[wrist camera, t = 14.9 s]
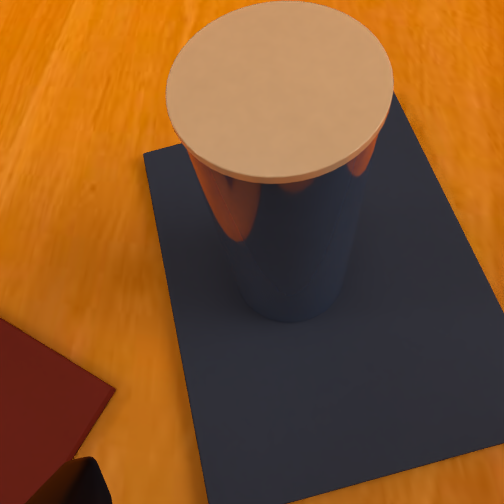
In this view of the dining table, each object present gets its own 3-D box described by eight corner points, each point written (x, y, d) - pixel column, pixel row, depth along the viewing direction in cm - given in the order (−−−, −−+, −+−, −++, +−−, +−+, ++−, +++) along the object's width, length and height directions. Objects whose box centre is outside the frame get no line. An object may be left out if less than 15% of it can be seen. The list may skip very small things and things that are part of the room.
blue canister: (338, 335, 21) (378, 194, 10) (219, 312, 22) (135, 159, 11) (355, 226, 23) (404, 8, 12) (246, 209, 24) (198, -7, 13)
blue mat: (553, 428, 19) (561, 427, 18) (214, 522, 19) (212, 524, 18) (390, 94, 26) (391, 86, 26) (145, 159, 26) (142, 153, 26)
